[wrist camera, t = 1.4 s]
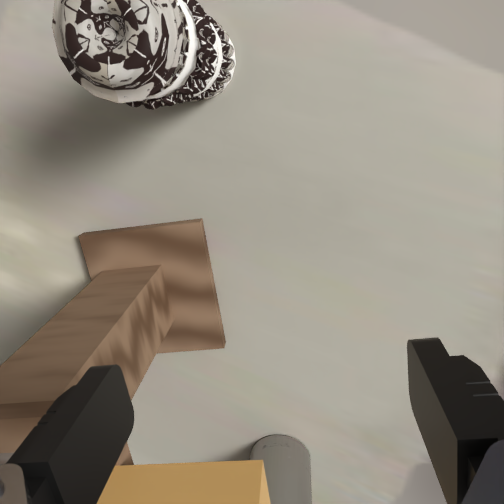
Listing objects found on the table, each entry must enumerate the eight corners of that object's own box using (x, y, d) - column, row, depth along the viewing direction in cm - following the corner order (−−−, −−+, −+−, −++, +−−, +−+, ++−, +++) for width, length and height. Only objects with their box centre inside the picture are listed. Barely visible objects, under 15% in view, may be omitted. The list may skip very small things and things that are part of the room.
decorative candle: (236, 107, 50) (185, 120, 26) (157, 99, 50) (37, 105, 27) (242, 17, 46) (190, -59, 23) (158, 10, 47) (22, -72, 24)
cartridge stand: (225, 342, 60) (152, 604, 29) (117, 350, 63) (-57, 603, 32) (202, 218, 55) (79, 383, 24) (83, 232, 57) (-172, 401, 26)
